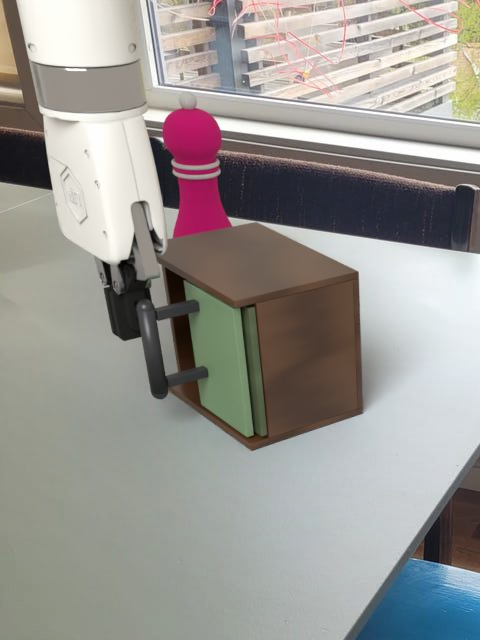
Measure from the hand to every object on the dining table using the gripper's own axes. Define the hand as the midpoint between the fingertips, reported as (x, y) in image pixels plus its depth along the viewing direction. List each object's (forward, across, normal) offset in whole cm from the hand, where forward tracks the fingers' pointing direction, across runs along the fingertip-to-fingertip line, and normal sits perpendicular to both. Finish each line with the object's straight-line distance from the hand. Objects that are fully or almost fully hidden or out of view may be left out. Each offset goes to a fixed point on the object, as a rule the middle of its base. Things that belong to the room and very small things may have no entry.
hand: (134, 333), depth 83 cm
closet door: (+7, +5, +2) cm, 9 cm away
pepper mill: (+8, -26, +21) cm, 35 cm away
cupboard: (+8, +2, +11) cm, 14 cm away
